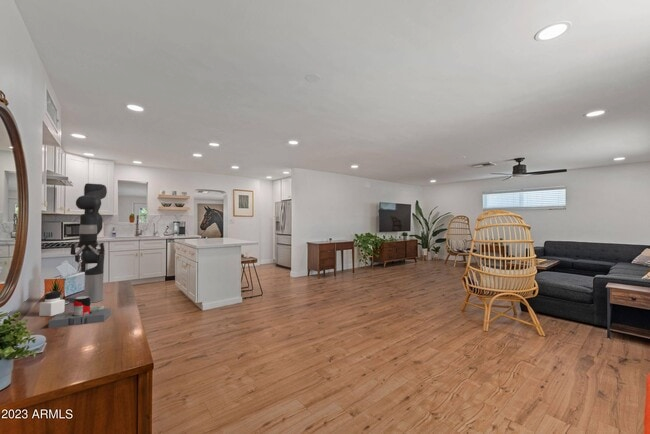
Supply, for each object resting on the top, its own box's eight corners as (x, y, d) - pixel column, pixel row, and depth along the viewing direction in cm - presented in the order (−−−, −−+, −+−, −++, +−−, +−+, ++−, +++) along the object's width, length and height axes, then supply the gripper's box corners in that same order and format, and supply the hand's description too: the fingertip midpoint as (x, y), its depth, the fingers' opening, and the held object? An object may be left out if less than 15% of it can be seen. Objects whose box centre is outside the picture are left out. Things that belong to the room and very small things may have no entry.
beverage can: (92, 319, 141) (93, 296, 142) (79, 323, 135) (79, 299, 136) (84, 318, 143) (84, 295, 143) (70, 322, 137) (70, 298, 137)
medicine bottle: (64, 312, 152) (65, 290, 153) (50, 316, 145) (51, 294, 146) (53, 311, 153) (54, 290, 153) (38, 316, 146) (39, 293, 146)
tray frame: (77, 311, 153) (77, 308, 153) (104, 309, 158) (104, 305, 158) (68, 318, 142) (68, 314, 142) (97, 315, 147) (97, 311, 147)
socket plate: (48, 328, 129) (48, 320, 129) (60, 320, 140) (60, 313, 140) (103, 321, 138) (104, 314, 138) (110, 314, 149) (110, 308, 149)
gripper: (106, 232, 158) (105, 260, 158) (74, 232, 152) (73, 261, 152) (102, 233, 152) (101, 262, 152) (68, 233, 145) (68, 263, 145)
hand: (87, 261), depth 152 cm, fingers open, 8 cm apart
